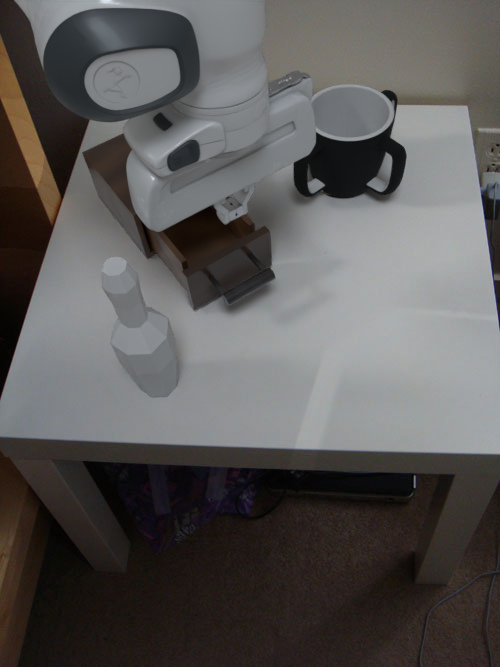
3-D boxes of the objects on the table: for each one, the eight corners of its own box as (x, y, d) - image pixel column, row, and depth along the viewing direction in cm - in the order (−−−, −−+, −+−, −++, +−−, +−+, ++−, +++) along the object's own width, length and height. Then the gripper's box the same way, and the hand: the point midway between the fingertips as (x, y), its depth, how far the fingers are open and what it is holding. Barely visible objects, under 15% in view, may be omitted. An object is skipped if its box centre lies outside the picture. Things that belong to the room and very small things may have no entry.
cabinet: (227, 215, 88) (221, 170, 81) (147, 259, 84) (133, 215, 77) (174, 159, 95) (164, 113, 88) (98, 196, 92) (81, 152, 85)
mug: (398, 145, 94) (411, 76, 84) (396, 220, 85) (410, 153, 75) (295, 140, 96) (295, 72, 86) (283, 213, 87) (281, 146, 77)
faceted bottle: (173, 410, 71) (131, 300, 53) (125, 396, 72) (67, 285, 54) (192, 365, 74) (159, 247, 56) (146, 353, 76) (98, 234, 57)
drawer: (293, 287, 79) (293, 253, 73) (214, 334, 76) (207, 303, 70) (215, 204, 88) (209, 168, 82) (141, 243, 85) (130, 208, 79)
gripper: (292, 48, 58) (292, 160, 70) (105, 133, 53) (138, 240, 64) (333, 79, 55) (325, 191, 67) (139, 172, 50) (167, 276, 61)
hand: (232, 215), depth 66 cm, fingers closed
